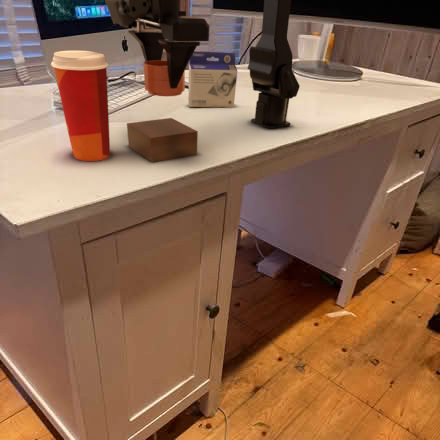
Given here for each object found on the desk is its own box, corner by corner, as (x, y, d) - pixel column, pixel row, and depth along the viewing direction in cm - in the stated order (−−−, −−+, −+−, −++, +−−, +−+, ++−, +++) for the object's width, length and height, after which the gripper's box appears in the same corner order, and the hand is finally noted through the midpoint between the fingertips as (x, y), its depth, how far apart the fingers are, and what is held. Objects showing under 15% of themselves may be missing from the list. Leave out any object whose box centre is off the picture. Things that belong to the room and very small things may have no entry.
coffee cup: (96, 143, 75) (85, 48, 66) (126, 155, 71) (118, 56, 62) (55, 154, 70) (36, 52, 61) (85, 167, 66) (70, 60, 57)
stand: (171, 139, 79) (171, 117, 77) (197, 154, 74) (197, 131, 71) (128, 146, 75) (126, 123, 73) (151, 162, 69) (150, 138, 67)
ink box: (189, 108, 99) (190, 52, 92) (187, 105, 101) (188, 51, 94) (235, 107, 102) (239, 53, 95) (232, 104, 104) (236, 52, 97)
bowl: (172, 87, 75) (172, 59, 72) (191, 95, 71) (191, 65, 68) (138, 90, 72) (136, 60, 69) (156, 98, 68) (155, 67, 65)
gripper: (85, -40, 63) (96, 75, 72) (139, -37, 51) (144, 99, 60) (151, -33, 68) (153, 72, 78) (214, -29, 57) (208, 95, 66)
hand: (163, 83), depth 70 cm, fingers closed on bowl, 7 cm apart
